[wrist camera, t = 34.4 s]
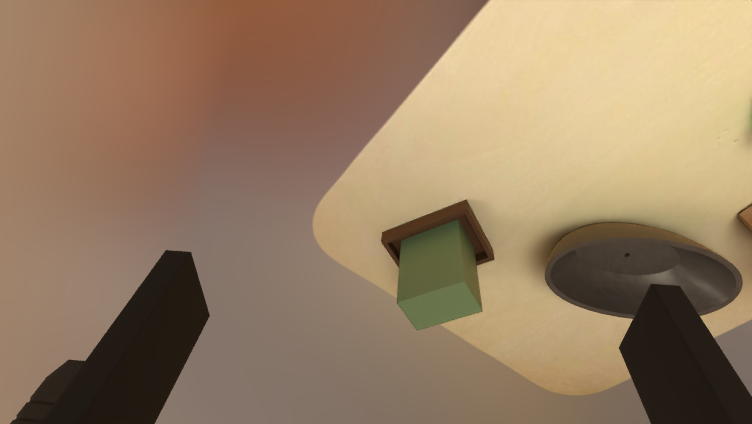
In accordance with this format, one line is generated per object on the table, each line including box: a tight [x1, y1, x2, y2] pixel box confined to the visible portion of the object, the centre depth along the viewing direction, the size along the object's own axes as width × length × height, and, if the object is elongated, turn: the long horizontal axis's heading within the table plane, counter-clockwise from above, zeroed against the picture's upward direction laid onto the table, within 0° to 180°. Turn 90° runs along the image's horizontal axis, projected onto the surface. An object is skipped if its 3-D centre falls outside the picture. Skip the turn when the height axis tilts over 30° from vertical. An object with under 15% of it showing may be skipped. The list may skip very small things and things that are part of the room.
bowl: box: [545, 223, 743, 319], centre depth 54 cm, size 12×22×6 cm, turn 82°
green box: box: [397, 219, 482, 330], centre depth 54 cm, size 5×8×11 cm, turn 119°
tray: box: [381, 200, 494, 267], centre depth 58 cm, size 9×12×2 cm
